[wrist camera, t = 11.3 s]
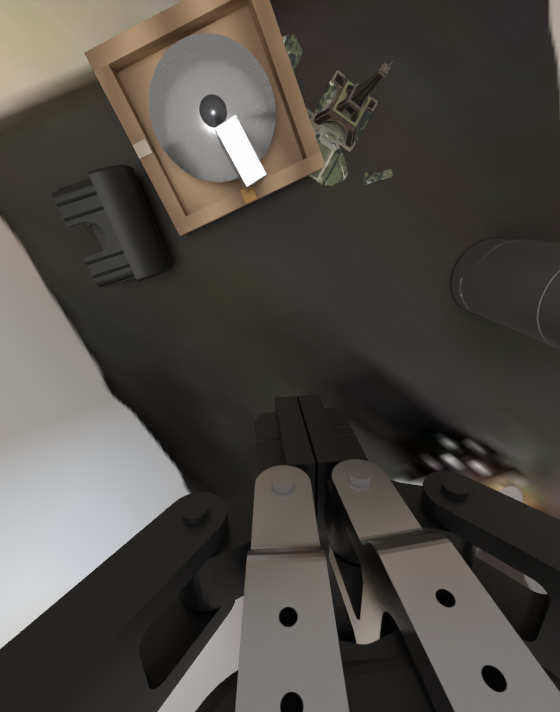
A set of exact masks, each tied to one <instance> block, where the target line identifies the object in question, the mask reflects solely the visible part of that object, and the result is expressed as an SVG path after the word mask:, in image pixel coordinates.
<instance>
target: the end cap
mask: <svg viewBox="0 0 560 712" xmlns="http://www.w3.org/2000/svg"><path fill="white" fill-rule="evenodd" d="M88 174H89V177H90V179H88V180H85V181H82V182H79V183H76V184H73V185H70V186H67V187H64V188H61V189H58V190H57V191H56V192H53V193H52V195H53V198H54V201H55V203H56V205H57V207H58V209H59V211H60V213H61V215H62V217H63V219H64V221H65V222H66V224H67V226H68V227H71V226H74V225H77V224H80V223H83V222H86V224H87V226H90V225H91V226H92V228H93V230H94V232H95V234H96V236H97V238H98V240H99V242H100V244H101V247H102V249H103V250H102V251H101V252H99V253H97V254H94V255H91V256H88V257H84V260H85V262H86V264H87V266H88V268H89V270H90V272H91V274H92V276H93V278H94V280H95V282H96V284H97V285H98V286H99V287H103V286H104V287H106V288H107V287H110V286H113V285H116V284H119V283H123V282H126V281H129V280H132V279H135V278H136V280H137V281H141V280H144V279H147V278H150V277H152V276H155V275H158V274H160V273H163V272H165V271H167V270H169V269H171V268H172V266H173V265H172V263H171V260H170V258H169V255H168V253H167V250H166V248H165V245H164V243H163V241H162V238H161V236H160V233H159V231H158V228H157V226H156V223H155V221H154V218H153V216H152V214H151V211H150V209H149V206H148V204H147V201H146V199H145V196H144V194H143V191H142V189H141V187H140V184H139V182H138V179H137V177H136V174H135V172H134V170H133V168H132V167H130V166H126V165H118V166H110V167H105V168H100V169H96V170H93V171H89V172H88Z"/></svg>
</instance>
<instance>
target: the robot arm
mask: <svg viewBox="0 0 560 712" xmlns="http://www.w3.org/2000/svg"><path fill="white" fill-rule="evenodd" d="M451 288H452V294H453V296H454V299H455V300H456V302H457V303H458V304H459V305H460V306H461V307H462V308H463V309H465V310H467V311H470V312H472V313H474V314H477V315H479V316H481V317H484V318H486V319H488V320H491V321H493V322H495V323H498V324H500V325H502V326H505V327H507V328H509V329H512V330H514V331H517V332H519V333H521V334H524V335H526V336H528V337H531V338H533V339H536V340H538V341H540V342H543V343H545V344H547V345H550V346H552V347H555V348H557V349H560V242H553V241H540V240H528V239H514V240H506V239H488V240H484V241H481V242H479V243H477V244H475V245H474V246H472V247H471V248H469V249H468V250H467V251H466V252H465V253H464V254H463V255H462V257H461V258H460V259H459V261H458V262H457V264H456V266H455V268H454V271H453V275H452V280H451ZM255 436H256V455H257V479H256V482H255V484H254V486H253V487H252V488H251V489H250V490H249V491H248V492H247V493H245V494H244V495H242V496H240V497H238V498H235V499H233V500H230V501H227V502H224V501H223V499H222V498H221V497H219V496H218V495H216V494H213V493H209V492H196V493H192V494H188V495H186V496H184V497H182V498H180V499H179V500H177V501H176V502H174V503H173V504H172V505H171V506H170V507H169V508H167V509H166V510H165V511H164V512H163V513H161V514H160V515H159V516H158V517H157V518H156V519H154V520H153V521H152V522H151V523H150V524H148V525H147V526H146V527H145V528H144V529H143V530H141V531H140V532H139V533H138V534H136V535H135V536H134V537H133V538H132V539H130V540H129V541H128V542H127V543H126V544H125V545H123V546H122V547H121V548H120V549H119V550H118V551H116V552H115V553H114V554H113V555H112V556H110V557H109V558H108V559H107V560H106V561H104V562H103V563H102V564H101V565H100V566H98V568H96V569H95V570H94V571H93V572H91V573H90V574H89V575H88V576H87V577H86V578H84V579H83V580H82V581H81V582H79V583H78V584H77V585H76V586H75V587H74V588H72V589H71V590H70V591H69V592H68V593H66V594H65V595H64V596H63V597H62V598H60V599H59V600H58V601H57V602H56V603H55V604H53V605H52V606H51V607H50V608H49V609H48V610H46V611H45V612H44V613H43V614H41V615H40V616H39V617H38V618H37V619H36V620H34V621H33V622H32V623H31V624H30V625H28V626H27V627H26V628H25V629H24V630H23V631H21V632H20V633H19V634H18V635H17V636H16V637H14V638H13V639H12V640H11V641H9V642H8V643H7V644H6V645H5V646H4V647H2V648H1V649H0V712H157V711H158V710H159V709H160V707H161V706H162V705H163V703H164V702H165V700H166V699H167V698H168V696H169V695H170V694H171V692H172V691H173V689H174V688H175V687H176V685H177V684H178V682H179V681H180V680H181V678H182V677H183V676H184V674H185V673H186V672H187V670H188V669H189V667H190V666H191V665H192V663H193V662H194V661H195V659H196V658H197V656H198V655H199V654H200V652H201V651H202V650H203V648H204V647H205V645H206V644H207V643H208V641H209V640H210V639H211V637H212V636H213V634H214V633H215V632H216V630H217V629H218V628H219V626H220V625H221V624H222V622H223V621H224V619H225V618H226V617H227V615H228V614H229V612H230V611H231V609H232V607H233V605H234V603H235V600H236V599H238V598H240V597H242V596H244V602H243V615H242V629H241V642H240V655H239V668H238V670H237V671H236V672H235V673H233V674H232V675H230V676H229V677H227V678H226V679H225V680H224V681H223V682H222V683H220V684H219V685H218V686H217V687H216V688H215V689H214V690H213V691H212V692H211V693H210V694H209V695H208V696H207V697H206V699H205V700H204V701H203V702H202V704H201V705H200V706H199V708H198V709H197V710H196V712H560V520H558V519H556V518H554V517H552V516H550V515H548V514H545V513H543V512H541V511H539V510H537V509H535V508H533V507H530V506H528V505H526V504H524V503H522V502H520V501H517V500H515V499H513V498H511V497H509V496H507V495H504V494H502V493H500V492H498V491H496V490H494V489H492V488H489V487H487V486H485V485H483V484H481V483H479V482H476V481H474V480H472V479H470V478H468V477H466V476H463V475H461V474H457V473H454V472H447V471H439V472H434V473H431V474H429V475H428V476H426V478H425V479H424V482H423V486H419V485H412V484H406V483H400V482H396V481H392V480H390V479H389V478H388V476H387V475H386V473H385V472H384V471H383V470H382V469H381V468H380V467H379V466H377V465H376V464H374V463H372V462H369V461H368V459H367V457H366V455H365V453H364V451H363V449H362V447H361V445H360V443H359V441H358V439H357V437H356V435H354V432H353V430H352V428H351V427H350V424H349V422H348V420H347V418H346V416H345V415H344V414H343V413H341V412H340V411H339V410H337V409H336V408H326V409H325V408H324V406H323V404H322V401H321V399H320V396H319V395H307V396H297V398H296V396H294V397H279V398H275V412H272V413H261V414H260V415H259V417H258V418H257V420H256V421H255ZM320 531H327V532H328V536H329V540H330V545H329V556H330V560H331V563H332V566H333V569H334V572H335V575H336V578H337V581H338V584H339V587H340V590H341V593H342V596H343V599H344V602H345V605H346V608H347V611H348V614H349V617H350V620H351V623H352V626H353V629H354V633H355V637H356V643H351V642H345V641H339V640H338V635H337V629H336V622H335V616H334V609H333V603H332V597H331V590H330V584H329V577H328V571H327V564H326V558H325V553H324V549H323V548H320V543H319V536H318V532H320ZM477 547H478V548H480V549H482V550H484V551H485V552H487V553H489V554H491V555H492V556H494V557H496V558H497V559H499V560H501V561H503V562H504V563H506V564H508V565H509V566H511V567H513V568H515V569H516V570H518V571H520V572H521V573H523V574H525V575H527V576H528V577H530V578H532V579H534V580H535V581H537V582H538V583H539V584H540V585H541V586H542V587H543V588H544V589H545V590H546V592H547V593H548V594H539V593H536V592H534V591H532V590H530V589H528V588H527V587H525V586H523V585H522V584H520V583H519V582H517V581H515V580H514V579H512V578H510V577H509V576H507V575H505V574H504V573H502V572H500V571H499V570H497V569H495V568H494V567H492V566H490V565H489V564H487V563H485V562H484V561H482V560H480V559H479V558H477V557H475V553H476V548H477Z"/></svg>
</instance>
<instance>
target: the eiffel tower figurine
mask: <svg viewBox="0 0 560 712" xmlns="http://www.w3.org/2000/svg"><path fill="white" fill-rule="evenodd" d="M282 39H283V42H284V45H285V48H286V51H287V54H288V57H289V60H290V63H291V66H292V69H293V72H294V71H295V69H296V67H297V64H298V62H299V60H300V57H301V54H302V52H303V50H302V48H301V47H300V45H299V43H298V41H297V39H296V37H295V35H294V33H293V34H289V35H286V36H282ZM392 63H393V61H392V62H391V63H390V64H389V65H387V64H386V63H385V64H383V65H382V67H381V69H380V70H379V71H378V72H377V73H375V74H374V75H373V76H372V77H370V78H369V79H368V80H367V81H365V82H364V83H362V84H360V85H359V84H358V83H357V84H355V83H354V82H353V81H351V80H350V79H349V78H348V77H346V76H345V75H344V74H342V73H341V72H340V71H339V70H337V69H336V71H335V73H334V75H333V77H332V79H331V81H330V83H329V84H328V86H327V88H326V90H325V92H324V94H323V96H322V98H321V100H320V102H319V104H318V106H317V108H316V110H315V112H314V111H312V110H310V109H309V108H308V107H307V106H305V107H306V110H307V113H308V116H309V119H310V122H311V125H312V128H313V131H314V134H315V137H316V140H317V143H318V146H319V149H320V152H321V155H322V158H323V161H324V164H325V167H324V168H322V169H321V170H319V171H317V172H315V173H313V174H311V175H309V177H311V178H312V179H314V180H316V181H317V182H319V183H320V184H321V185H327V186H333V185H334V184H336V183H338V182H339V183H341V182H342V181H343V180H344V179H345V178H346V176H347V175H348V171H347V166H346V160H345V158H344V156H343V154H342V152H341V150H340V147H339V145H340V146H342V147H343V148H345V149H346V150H348V151H349V152H350V153H351V151H352V150H353V148H354V146H355V144H356V142H357V140H358V139H359V137H360V135H361V133H362V131H363V130H364V128H365V126H366V124H367V122H368V120H369V119H370V117H371V115H372V113H373V111H374V110H375V108H376V106H377V104H378V101H377V100H376V99H374V98H373V97H372V96H370V92H371V91H372V90H373V89H374V87H375V86H376V85H377V84H378V82H379V81H380V80H381V79H382V77H383V76H384V77H386V75H387V73H388V71H389V70H390V65H391V64H392ZM390 177H393V174H392V169H389V170H385V171H382V172H381V173H374V174H373V175H372V176H371V177H370V176H369V174H368V173H367V172H366V171H365V176H364V180H363V185H366V184H370V183H373V182H376V181H380V180H383V179H386V178H390ZM363 185H362V186H363Z"/></svg>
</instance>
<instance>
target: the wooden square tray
mask: <svg viewBox="0 0 560 712" xmlns="http://www.w3.org/2000/svg"><path fill="white" fill-rule="evenodd" d="M199 33H213V34H219V35H223V36H226V37H228V38H231V39H233V40H235V41H236V42H238V43H239V44H241V45H243V46H244V47H245V48H246V49H247V50H248V51H250V52H251V53H252V55H253V56H254V57H255V58H256V59H257V60H258V62H259V63H260V65H261V66H262V67H263V69H264V71H265V73H266V75H267V77H268V79H269V82H270V84H271V87H272V91H273V94H274V100H275V109H276V119H275V128H274V133H273V137H272V140H271V143H270V146H269V148H268V151H267V153H266V155H265V156H264V158H263V160H262V161H261V162H260V163H261V165H262V167H263V168H264V170H265V172H266V176H265V178H264V180H263V182H262V183H260V184H259V185H257V186H256V187H254V188H253V189H251V190H249V191H248V192H246V191H245V189H244V187H243V185H242V184H241V182H240V180H236V181H233V182H229V183H210V182H205V181H202V180H200V179H197V178H195V177H193V176H191V175H190V174H188V173H187V172H185V171H184V170H183V169H181V168H180V167H179V166H178V165H177V164H175V163H174V162H173V161H172V160H171V158H170V157H169V156H168V155H167V154H166V152H165V151H164V149H163V148H162V146H161V144H160V143H159V141H158V139H157V136H156V134H155V132H154V129H153V125H152V122H151V117H150V111H149V90H150V84H151V80H152V76H153V73H154V71H155V68H156V66H157V64H158V62H159V61H160V59H161V58H162V56H163V55H164V54H165V52H166V51H167V50H168V49H169V48H170V47H171V46H172V45H174V44H175V43H176V42H178V41H180V40H181V39H183V38H185V37H188V36H190V35H194V34H199ZM85 55H86V57H87V59H88V61H89V63H90V65H91V67H92V69H93V71H94V72H95V74H96V76H97V78H98V80H99V82H100V84H101V86H102V88H103V90H104V92H105V93H106V95H107V97H108V99H109V101H110V103H111V105H112V107H113V109H114V111H115V113H116V115H117V116H118V118H119V120H120V122H121V124H122V126H123V128H124V130H125V132H126V134H127V136H128V137H129V139H130V141H131V143H132V145H133V147H134V149H135V151H136V153H137V155H138V157H139V159H140V160H141V162H142V164H143V166H144V168H145V170H146V172H147V174H148V176H149V178H150V179H151V181H152V183H153V185H154V187H155V189H156V191H157V193H158V195H159V197H160V199H161V201H162V202H163V204H164V206H165V208H166V210H167V212H168V214H169V216H170V218H171V220H172V222H173V223H174V225H175V227H176V229H177V231H178V233H179V235H180V236H182V235H185V234H188V233H190V232H192V231H194V230H196V229H198V228H200V227H202V226H204V225H206V224H208V223H211V222H213V221H215V220H217V219H219V218H221V217H223V216H225V215H227V214H229V213H231V212H234V211H236V210H238V209H240V208H242V207H244V206H246V205H248V204H250V203H252V202H254V201H257V200H259V199H261V198H263V197H265V196H267V195H269V194H271V193H273V192H275V191H277V190H280V189H282V188H284V187H286V186H288V185H290V184H292V183H294V182H296V181H298V180H300V179H303V178H305V177H307V176H309V175H311V174H313V173H315V172H317V171H319V170H321V169H322V168H324V167H325V164H324V161H323V158H322V155H321V152H320V149H319V146H318V143H317V140H316V137H315V134H314V131H313V128H312V125H311V122H310V119H309V116H308V113H307V110H306V107H305V104H304V101H303V98H302V95H301V92H300V89H299V86H298V83H297V80H296V77H295V75H294V72H293V69H292V66H291V63H290V60H289V57H288V54H287V51H286V48H285V45H284V42H283V39H282V36H281V33H280V30H279V27H278V24H277V21H276V18H275V15H274V12H273V9H272V6H271V3H270V0H183V1H181V2H179V3H178V4H176V5H174V6H172V7H170V8H168V9H166V10H164V11H162V12H161V13H159V14H157V15H155V16H153V17H151V18H149V19H147V20H145V21H144V22H142V23H140V24H138V25H136V26H134V27H132V28H130V29H128V30H127V31H125V32H123V33H121V34H119V35H117V36H115V37H113V38H111V39H110V40H108V41H106V42H104V43H102V44H100V45H98V46H96V47H94V48H93V49H91V50H89V51H87V52H85Z"/></svg>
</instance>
